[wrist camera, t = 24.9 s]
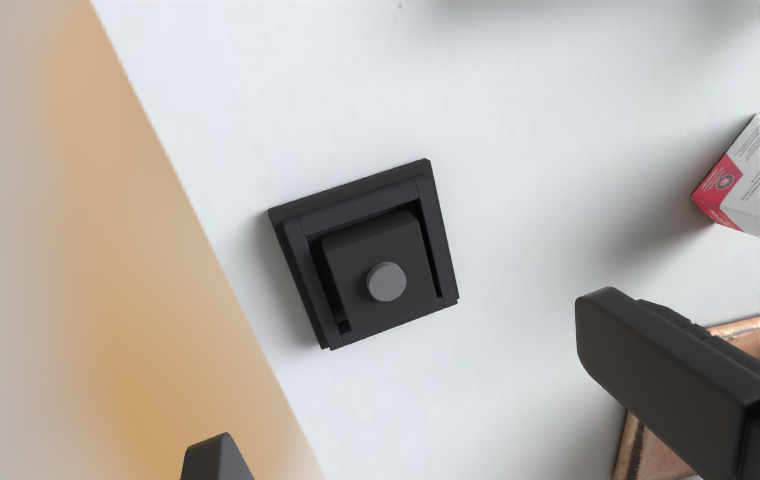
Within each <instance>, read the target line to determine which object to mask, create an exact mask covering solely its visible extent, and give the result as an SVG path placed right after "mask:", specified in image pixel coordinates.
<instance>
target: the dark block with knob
mask: <svg viewBox="0 0 760 480" xmlns="http://www.w3.org/2000/svg"><path fill="white" fill-rule="evenodd" d="M319 238H320V241H321V244H322V247H323V250H324V253H325V256H326V259H327V261H328V264H329V267H330V270H331V273H332V276H333V279H334V282H335V284H336V287H337V290H338V293H339V296H340V299H341V302H342V305H343V307H344V310H345V313H346V316H347V319H348V322H349V325H350V328H351V330H352V332H353V333H354V332H356V331H359V330H362V329H364V328H367V327H370V326H372V325H375V324H378V323H380V322H383V321H386V320H389V319H391V318H394V317H397V316H399V315H402V314H405V313H407V312H410V311H413V310H415V309H418V308H421V307H423V306H426V305H429V304H432V303H434V302H437V297H436V293H435V289H434V285H433V280H432V276H431V272H430V268H429V264H428V260H427V255H426V251H425V247H424V243H423V239H422V234H421V230H420V226H419V222H418V220H417V219H415V218H414V217H413V216H412V215H411V214H410V213H409V212H408V211H407V210H406V209H405V208H401V209H398V210H395V211H392V212H389V213H386V214H383V215H380V216H377V217H374V218H371V219H368V220H366V221H363V222H360V223H357V224H354V225H351V226H348V227H345V228H342V229H339V230H336V231H333V232H330V233H327V234H324V235H321V236H319Z"/></svg>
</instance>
